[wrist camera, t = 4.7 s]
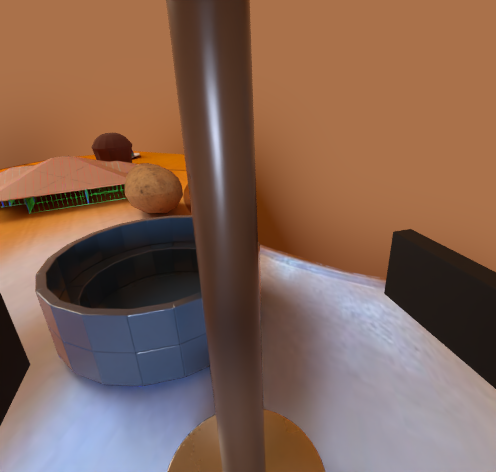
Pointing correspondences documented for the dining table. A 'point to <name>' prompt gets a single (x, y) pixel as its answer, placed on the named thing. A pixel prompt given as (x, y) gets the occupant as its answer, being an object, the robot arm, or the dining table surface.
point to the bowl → (128, 303)
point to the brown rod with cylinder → (227, 242)
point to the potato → (152, 188)
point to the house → (61, 179)
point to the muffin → (112, 148)
